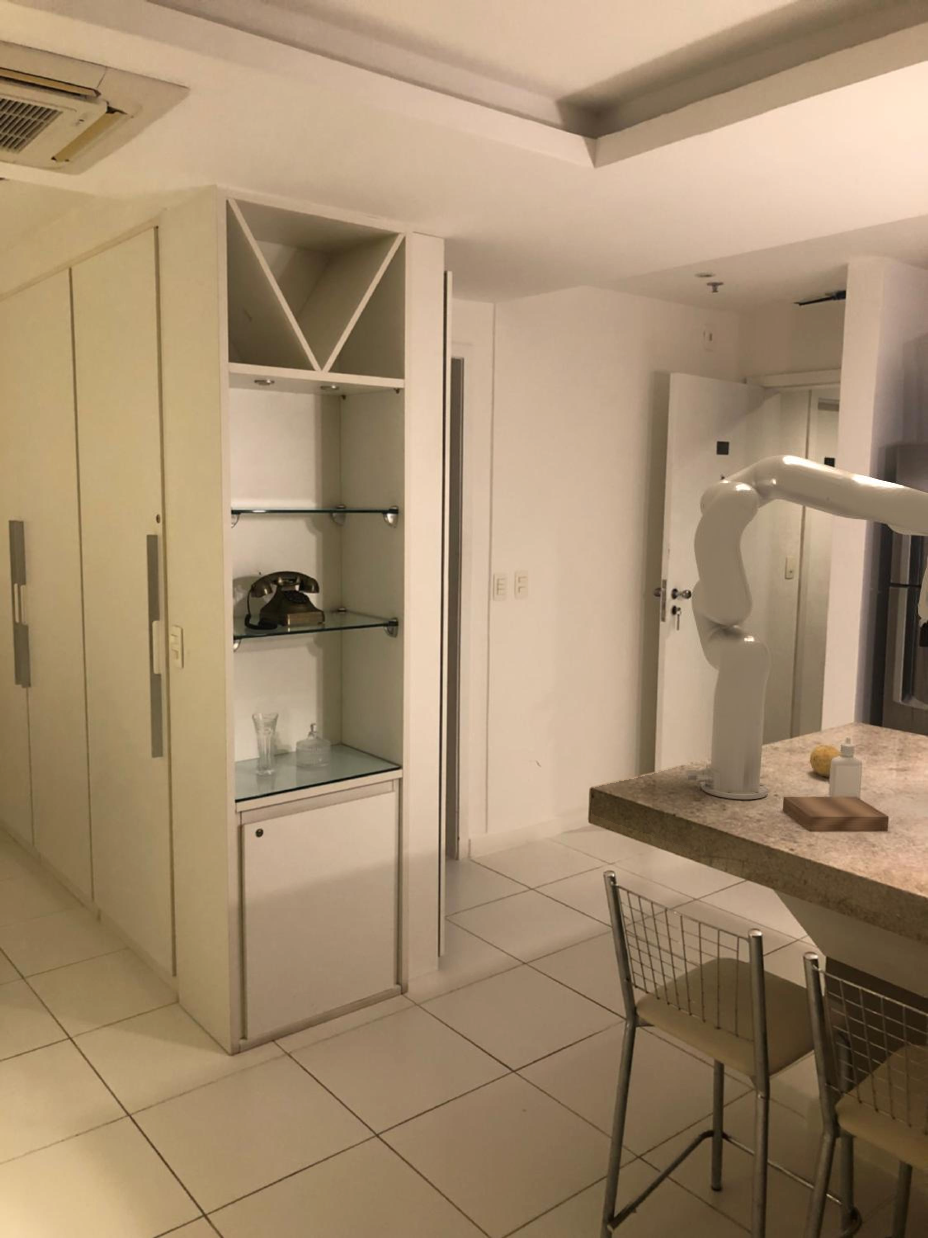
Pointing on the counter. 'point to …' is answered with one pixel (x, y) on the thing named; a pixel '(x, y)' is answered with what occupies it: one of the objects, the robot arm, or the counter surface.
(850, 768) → the grey tapered bottle shape
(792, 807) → the walnut block
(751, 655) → the robot arm
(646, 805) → the counter surface
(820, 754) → the potato
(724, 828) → the counter surface
